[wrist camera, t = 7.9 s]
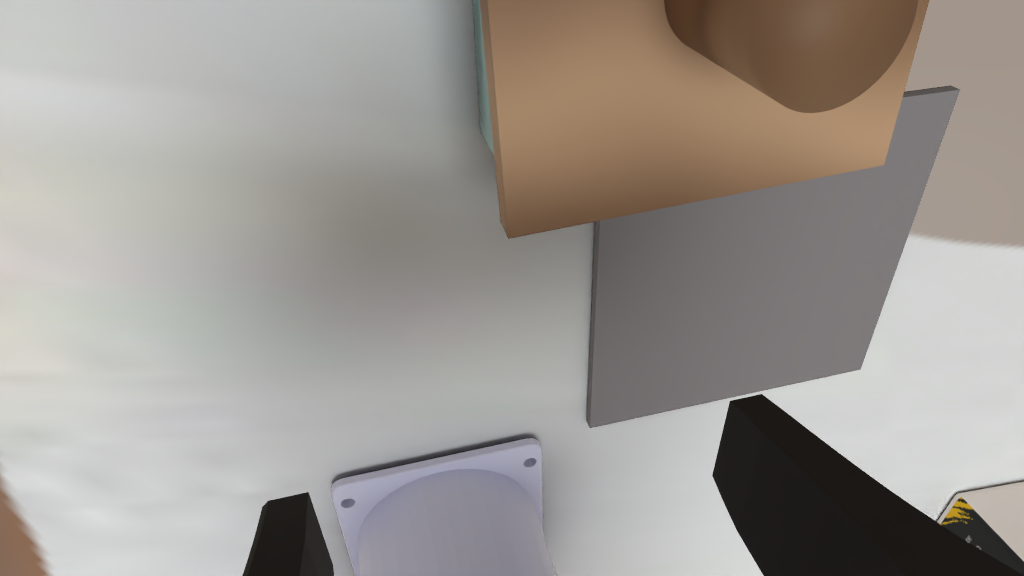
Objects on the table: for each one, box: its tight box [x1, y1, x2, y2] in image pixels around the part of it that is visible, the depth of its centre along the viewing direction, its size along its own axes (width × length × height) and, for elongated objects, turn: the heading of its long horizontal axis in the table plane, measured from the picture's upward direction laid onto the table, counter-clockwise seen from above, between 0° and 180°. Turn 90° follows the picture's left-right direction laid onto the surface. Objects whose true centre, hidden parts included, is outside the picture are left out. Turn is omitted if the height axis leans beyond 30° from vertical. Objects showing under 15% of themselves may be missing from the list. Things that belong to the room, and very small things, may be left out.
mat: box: [587, 86, 960, 428], centre depth 24 cm, size 12×12×1 cm
